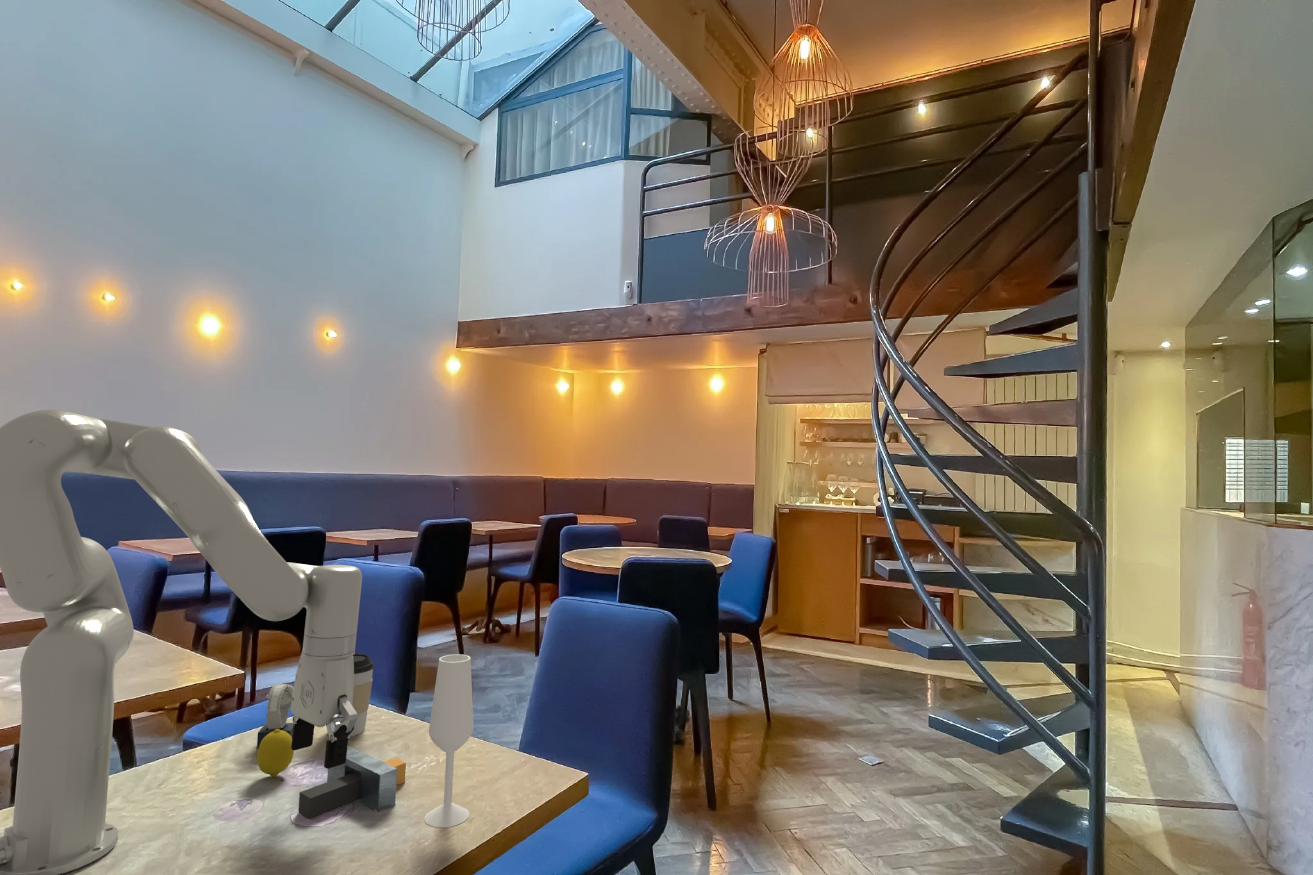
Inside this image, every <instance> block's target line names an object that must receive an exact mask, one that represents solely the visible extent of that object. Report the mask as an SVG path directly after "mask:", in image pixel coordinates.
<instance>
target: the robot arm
mask: <svg viewBox="0 0 1313 875" xmlns="http://www.w3.org/2000/svg"><path fill="white" fill-rule="evenodd" d="M64 473H79V474H88V475H99V476H104V477H105V476H106V477H112V478H121V479H127V480H135V481H136V483H137V484H138V485H139V486H140V487H141V488H142V489H143V490H144V491H145V493H147V494H148V496H150V498H152V499H153V501H154V502H156V504H157V505H158V506H159V507H160V508H161V509H162V510H163V511H164V513H166V515H168V516H169V517H170V519H171V520H172V522H174V523H175V524H176V525H177V526H178V528H180V529H181V530H182V531H183V533H184V534H185V536H187V537H188V538H189V540H190V542H192V544H193V546H194V547H195V549H196V550H197V551H198V552H199V553H200V554H201V555H202V557H203V558H204V559H205V560H206V561H207V563H208V564H209V566H211V568H212V569H213V571H214V572H215V573H216V574H217V576H218V577H219V578H220V579H221V580H222V581H223V582H224V583H225V585H226V586H227V587H228V588H229V590H231V591H232V592H233V593H234V594H235V596H236V597H238V599H240V601H241V602H242V603H243V604H244V605H245V606H246V607H247V608H248V609H249V610H250V611H251V612H252V613H253V614H255V615H256V616H258V617H259V618H261V619H262V620H266V621H271V622H279V621H284V620H287V619H290V618H292V617H294V616H296V615H297V614H298V613H299V612H300V611H301V610H302V609H303V608H305V609H306V613H305V614H306V616H305V624H304V634H303V642H302V651H301V654H300V656H299V661H298V663H297V664H298V665H297V668H296V673H295V677H294V683H293V687H294V688H293V690H292V702H291V708H290V712H291V714H293V716H292V723H294V725H293V735H292V744H291V749H292V750H293V751H294V752H295V751H298V750H303V749H306V748H309V747H311V746H313V742H314V734H315V733H314V732H315V727H318V728H323V727H326V730H327V734H328V738H329V739H328V740H326V742H325V744H326V745H325V752H324V754H325V755H324V763H323V768H325V769H327V770H328V769H329V768H332V767H335V766H339V765H342V764H344V763H345V762H346V756H347V746H349V738H351V737H352V736H351V732H352V731H353V730H354V725H355V723H356V721H357V718H358V714H357V712H356V711H355V709H354V708H353V706H352V702H353V688H354V661H353V655H354V654H356V651H355V650H356V645H357V644H356V642H357V632H358V625H359V624H358V622H359V615H360V614H359V611H360V602H361V593H362V584H363V574H362V573H363V572H362V571H361V569H360V568H359V567H357V566H354V565H347V564H325V565H312V564H311V565H310V564H303V563H298V562H297V563H296V562H287V561H286V560H285V559H284V558H283V556H282V555H281V554H279V552H278V551H277V550H276V549H275V547H274V546H272V544H271V543H270V542H269V540H268V539H267V538H266V536H265V535H264V534H263V533H262V532H261V530H260V529H259V527H258V525H257V523H256V522H255V520H254V517H253V515H252V513H251V510H250V508H249V507H248V505H247V504H246V501H244V499H243V498H242V497H241V495H240V494H239V493H238V492H237V491H236V490H235V489H234V488H233V487H232V485H230V483H228V481H227V480H225V478H224V477H223V476H222V475H221V474H220V473H219V472H218V471H217V469H215V468H214V466H213V465H212V464H211V463H210V461H209V460H208V459H207V458H206V457H205V455H204V454H203V453H202V450H201V448H200V446H199V444H198V441H197V440H196V439H195V438H193V436H191V435H190V434H189V433H187V432H186V431H183V430H180V429H178V428H174V427H170V426H164V425H163V426H150V425H149V426H148V425H141V424H136V423H129V422H122V421H119V420H118V421H116V420H111V419H106V418H100V417H96V416H95V417H94V416H90V415H83V414H79V413H75V412H71V411H67V410H61V409H41V410H35V411H31V412H28V413H24V414H22V415H19V416H17V417H15V418H13V419H11V420H10V421H8V422H6V423H5V424H3V425H2V426H0V572H1V575H2V577H3V581H4V584H5V588H6V591H7V594H8V595H9V598H10V599H11V600H12V602H13V603H14V604H15V605H16V606H18V607H19V608H20V609H23V610H25V611H28V612H33V613H41V614H43V616H44V619H45V622H46V625H47V626H45V628H43V629H42V630H41V631H40V632H39V633H38V634H37V635H36V636H35V637H34V638H33V639H32V640H31V642H29V644H28V646H27V647H26V650H25V651H24V653H23V656H22V659H21V663H20V670H19V682H20V683H19V684H20V691H21V692H20V695H21V696H20V697H21V716H20V717H21V721H20V722H21V723H20V734H19V748H18V749H19V750H18V760H17V761H18V762H17V773H16V783H15V784H16V785H15V796H14V807H13V818H12V825H11V826H9V827H6V828H4V832H3V836H0V875H62V874H65V873H69V872H72V871H74V870H78V869H80V868H83V867H84V866H87V865H89V864H91V863H92V862H95V861H97V860H99V859H100V858H102V857H103V856H105V855H106V854H108V853H109V852H110V851H111V850H112V849H114V847H115V846H116V844H117V843H118V840H119V829H118V828H117V827H116V826H114V825H112V824H109V823H107V822H106V816H107V815H106V814H107V806H108V805H107V804H108V792H109V791H108V790H109V778H110V765H111V753H112V740H113V730H114V729H113V727H114V726H113V725H114V714H115V713H114V712H115V711H114V710H115V686H114V685H115V684H114V678H115V675H114V674H115V668H116V664H117V663H118V661H119V660H120V659H122V658H123V656H124V655H125V654H126V653H127V652H128V650H129V648H130V646H131V644H132V642H133V639H134V634H135V633H134V629H135V627H134V623H133V618H132V616H131V615H132V614H131V613H130V609H129V606H128V602H127V599H126V596H125V594H124V591H123V590H124V589H123V587H122V584H121V581H120V578H119V575H118V571H117V568H116V566H115V563H114V561H113V559H112V556H111V554H109V552H108V550H107V549H106V548H105V547H104V546H103V545H101V544H100V543H99V542H98V541H95V540H93V539H91V538H89V537H83V536H81V534H80V531H79V529H78V526H77V523H76V520H75V516H74V512H73V509H72V506H71V503H70V500H69V498H68V497H67V495H66V493H65V491H64V489H63V486H62V476H63V474H64ZM333 717H335V719H332V718H333ZM295 723H296V724H295ZM337 724H340V725H341V726H340V727H339V728H338V730H337V731H336V730H335V727H334V725H337Z"/></svg>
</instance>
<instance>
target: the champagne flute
mask: <svg viewBox="0 0 1313 875" xmlns="http://www.w3.org/2000/svg"><path fill="white" fill-rule="evenodd" d="M471 661H472V660H471V656H469V655H467V654H457V653H456V654H447V655H443V656H441V657H439V659H438V665H437V672H436V679H435V685H434V693H433V699H432V707H431V713H430V721H429V727H428V735H429V737H430V739H431V741H432V742H433V744H434V745H435V746H436V747H437V748H439V749H440V750H441V751H442V752H444V753H445V769H444V770H445V774H444V791H443V792H444V794H443V803H442V804H440V805H439V806H437V807H435V808H433V809H431V810H430V811H428V812H427V813H426V814H425V816H424V822H425V823H426V824H427V825H428V826H431V827H434V828H449V827H451V828H452V827H454V826H458V825H461V824H462V823H464V822H465V821H466V820H467V819H468V818H470V811H469V810H468V809H467V808H466V807H463V806H462V805H458V804H457V803H454V802H453V785H454V784H453V782H454V762H455V752H457V751H458V750H460V748H461V747H463V746H464V745H465V744H466V743H467V742H468V741H469V739H470V738H471V736H472V734H473V732H474V729H475V728H474V725H475V724H474V707H473V705H474V702H473V684H472V683H473V681H472V662H471Z"/></svg>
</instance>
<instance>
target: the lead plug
mask: <svg viewBox="0 0 1313 875" xmlns="http://www.w3.org/2000/svg"><path fill="white" fill-rule="evenodd" d="M383 762H384V763H387V764H389V765H391V766H393V767H395V768H397V781H396V786H398V785H401V784H402V783H405V782H406V769H407V768H406V767H407V762H405V761H403V760H401V759H399V758H396V757H393V758H390V759H388V760H385V761H383ZM361 774H362V772H359V771H357V772H354V773H351V774H348V775H346V776H343V777H340V778H337V779H335V780H332V781H329V782H327V781H326V782H323V783H321V784H318V785H316V786H313V787H311V788H307V789H304V790H302V791H301V790H300V791H299V797H298V811H297V813H299V814H298V815H300V816H302V817H304V818H305V817H306V818H305V819H307V820H308V819H309V820H313V819H315V818H318V817H320V816H322V815H326V814H327V813H330V812H333V811H335V810H337V809H340V808H342V807H345V806H348V805H351V804H353V803H355V802H358V801H360V792H361ZM347 804H348V805H347ZM309 820H308V821H309Z"/></svg>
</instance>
